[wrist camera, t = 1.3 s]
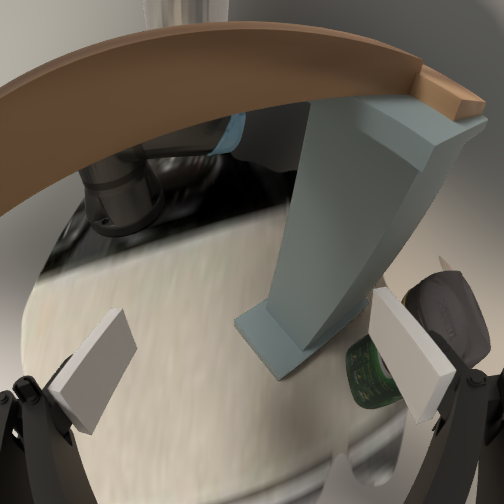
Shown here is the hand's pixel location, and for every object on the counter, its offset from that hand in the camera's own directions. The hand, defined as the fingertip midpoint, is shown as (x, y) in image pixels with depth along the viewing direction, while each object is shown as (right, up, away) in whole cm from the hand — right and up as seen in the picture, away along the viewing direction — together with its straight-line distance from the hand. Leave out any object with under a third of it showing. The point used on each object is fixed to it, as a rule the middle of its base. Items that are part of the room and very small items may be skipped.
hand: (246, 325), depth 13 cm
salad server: (+5, +11, -4) cm, 13 cm away
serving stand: (+7, -5, +22) cm, 23 cm away
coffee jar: (+16, -12, +17) cm, 26 cm away
